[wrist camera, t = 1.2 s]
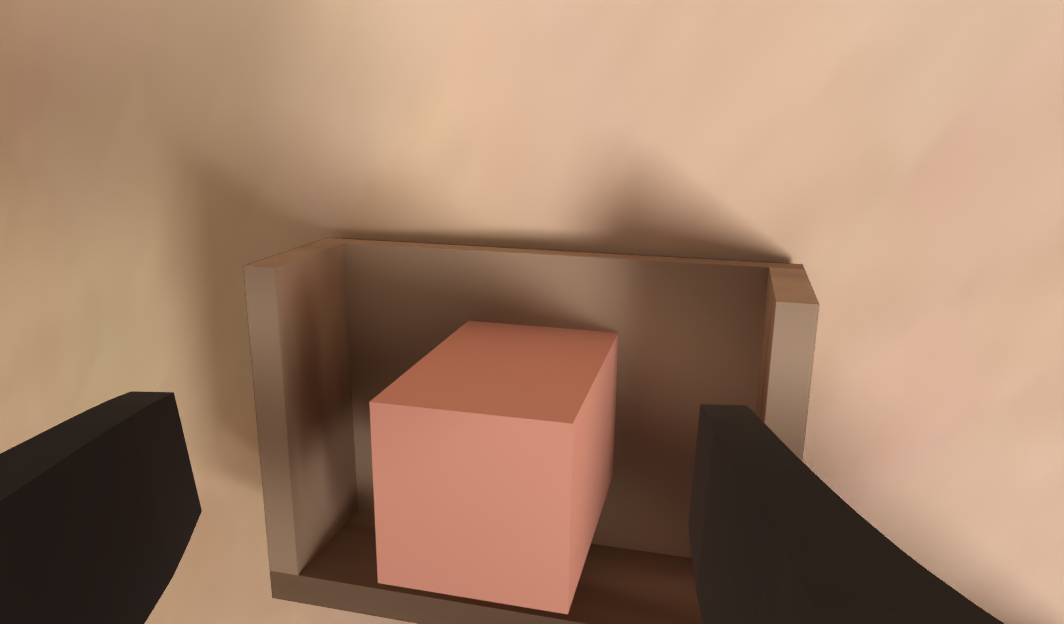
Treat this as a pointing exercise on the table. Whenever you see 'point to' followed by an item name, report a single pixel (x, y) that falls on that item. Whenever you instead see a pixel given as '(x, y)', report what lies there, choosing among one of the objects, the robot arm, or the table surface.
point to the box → (523, 299)
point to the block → (495, 463)
